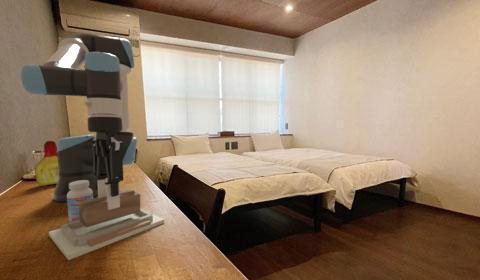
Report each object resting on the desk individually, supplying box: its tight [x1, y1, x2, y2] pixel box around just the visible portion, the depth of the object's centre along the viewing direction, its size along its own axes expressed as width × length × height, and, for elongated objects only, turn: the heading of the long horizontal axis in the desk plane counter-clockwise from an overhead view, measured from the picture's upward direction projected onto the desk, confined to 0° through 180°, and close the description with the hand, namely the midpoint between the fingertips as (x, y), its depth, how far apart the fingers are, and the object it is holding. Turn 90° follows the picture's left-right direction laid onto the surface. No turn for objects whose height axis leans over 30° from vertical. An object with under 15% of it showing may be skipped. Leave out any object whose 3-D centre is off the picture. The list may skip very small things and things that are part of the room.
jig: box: [48, 207, 165, 261], centre depth 59 cm, size 16×22×2 cm
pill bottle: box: [66, 180, 94, 223], centre depth 63 cm, size 6×6×11 cm
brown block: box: [79, 188, 141, 227], centre depth 59 cm, size 5×13×6 cm, turn 142°
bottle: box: [34, 140, 59, 187], centre depth 102 cm, size 12×6×20 cm, turn 138°
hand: (109, 205), depth 58 cm, fingers closed on brown block, 5 cm apart
